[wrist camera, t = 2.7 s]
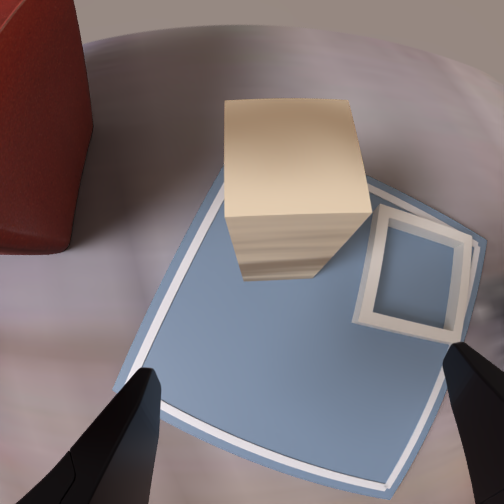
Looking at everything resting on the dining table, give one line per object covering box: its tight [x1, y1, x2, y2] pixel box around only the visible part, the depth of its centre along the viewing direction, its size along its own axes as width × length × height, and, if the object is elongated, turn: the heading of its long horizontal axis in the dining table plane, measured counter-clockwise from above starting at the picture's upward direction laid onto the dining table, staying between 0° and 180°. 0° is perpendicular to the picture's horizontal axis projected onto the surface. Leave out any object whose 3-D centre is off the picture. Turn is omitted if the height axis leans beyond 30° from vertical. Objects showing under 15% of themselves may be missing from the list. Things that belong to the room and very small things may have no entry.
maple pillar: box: [224, 98, 372, 282], centre depth 16 cm, size 4×4×12 cm
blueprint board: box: [112, 165, 487, 500], centre depth 21 cm, size 22×22×1 cm
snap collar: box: [351, 204, 472, 345], centre depth 20 cm, size 8×8×2 cm
